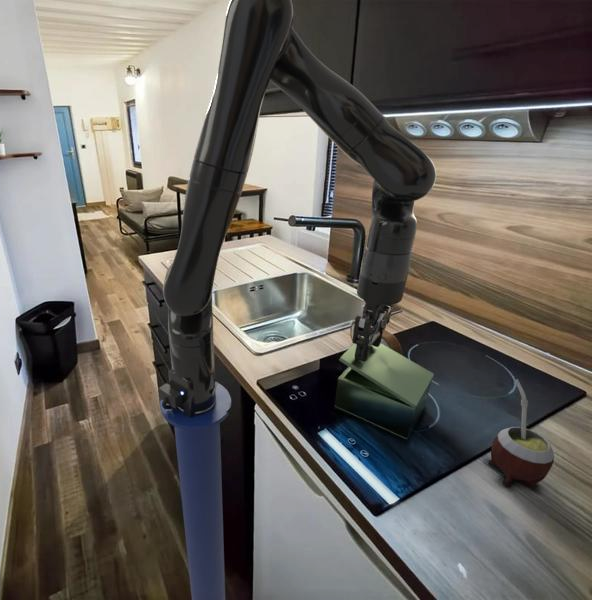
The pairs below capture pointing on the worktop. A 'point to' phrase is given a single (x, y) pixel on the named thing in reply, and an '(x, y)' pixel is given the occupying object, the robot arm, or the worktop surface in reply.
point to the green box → (376, 405)
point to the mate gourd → (521, 452)
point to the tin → (384, 340)
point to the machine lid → (391, 372)
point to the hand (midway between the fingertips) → (367, 351)
